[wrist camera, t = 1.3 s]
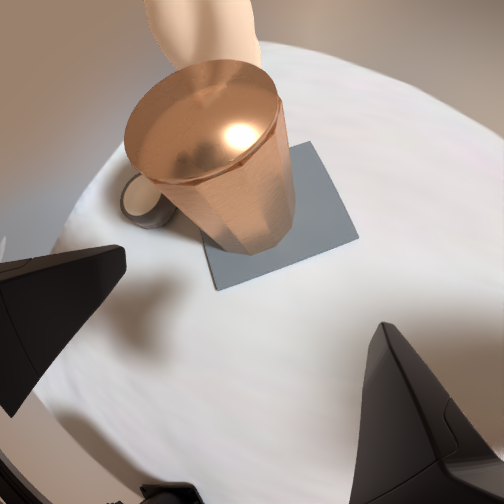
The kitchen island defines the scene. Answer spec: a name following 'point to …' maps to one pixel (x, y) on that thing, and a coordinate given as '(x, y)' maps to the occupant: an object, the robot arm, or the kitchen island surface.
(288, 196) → the brown tapered cup
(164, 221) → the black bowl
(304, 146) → the slate mat
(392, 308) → the kitchen island surface
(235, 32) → the water bottle
